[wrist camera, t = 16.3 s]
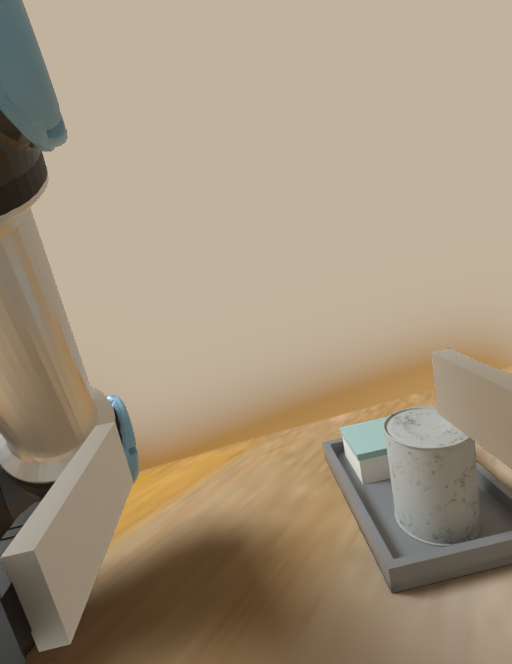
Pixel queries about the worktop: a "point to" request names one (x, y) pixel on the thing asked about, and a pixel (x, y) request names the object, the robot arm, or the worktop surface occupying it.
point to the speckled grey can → (432, 477)
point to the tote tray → (410, 554)
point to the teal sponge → (367, 450)
